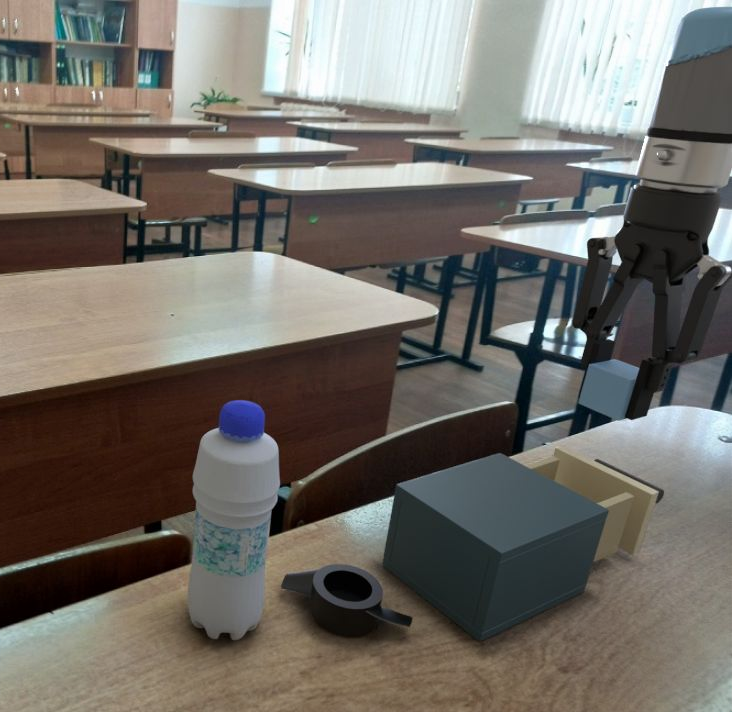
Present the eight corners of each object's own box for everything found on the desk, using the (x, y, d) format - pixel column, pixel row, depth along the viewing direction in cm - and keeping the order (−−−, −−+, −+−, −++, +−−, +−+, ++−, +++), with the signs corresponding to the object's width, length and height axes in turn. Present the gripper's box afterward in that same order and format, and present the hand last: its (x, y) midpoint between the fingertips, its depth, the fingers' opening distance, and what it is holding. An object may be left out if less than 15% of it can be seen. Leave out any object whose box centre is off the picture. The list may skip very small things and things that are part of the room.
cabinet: (482, 527, 76) (500, 452, 73) (584, 592, 67) (609, 509, 64) (381, 565, 69) (396, 484, 66) (479, 642, 60) (501, 553, 57)
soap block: (603, 397, 81) (614, 358, 80) (644, 414, 78) (657, 374, 76) (577, 403, 79) (588, 364, 78) (618, 421, 76) (630, 380, 74)
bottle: (278, 639, 59) (305, 417, 52) (202, 658, 57) (220, 429, 50) (241, 587, 65) (262, 381, 58) (171, 603, 63) (183, 390, 55)
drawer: (575, 491, 82) (590, 436, 80) (667, 539, 74) (687, 480, 72) (465, 531, 73) (478, 471, 71) (556, 591, 65) (574, 525, 63)
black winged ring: (349, 668, 57) (354, 638, 56) (272, 592, 65) (275, 565, 64) (419, 635, 60) (425, 607, 59) (338, 567, 68) (342, 541, 67)
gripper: (569, 173, 75) (518, 380, 84) (760, 203, 61) (675, 449, 70) (613, 172, 79) (560, 372, 87) (803, 201, 65) (718, 435, 73)
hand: (611, 406), depth 78 cm, fingers closed on soap block, 5 cm apart
